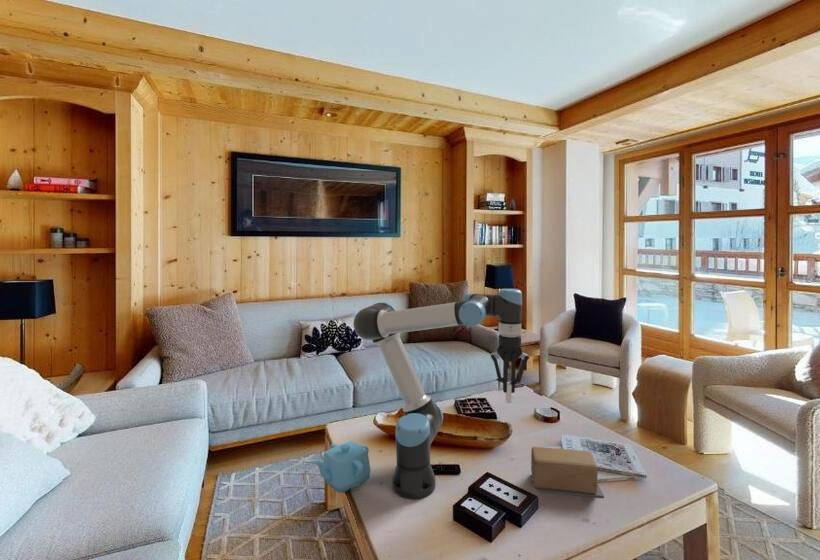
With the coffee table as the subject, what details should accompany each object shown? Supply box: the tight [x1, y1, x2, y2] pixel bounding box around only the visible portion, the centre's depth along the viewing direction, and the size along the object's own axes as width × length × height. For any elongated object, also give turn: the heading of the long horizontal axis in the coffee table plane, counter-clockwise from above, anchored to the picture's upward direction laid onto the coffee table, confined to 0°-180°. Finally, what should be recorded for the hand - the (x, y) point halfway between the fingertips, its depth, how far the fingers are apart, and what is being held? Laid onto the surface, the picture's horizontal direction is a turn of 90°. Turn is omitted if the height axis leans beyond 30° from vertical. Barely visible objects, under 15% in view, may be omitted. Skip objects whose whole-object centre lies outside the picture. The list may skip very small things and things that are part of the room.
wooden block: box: [530, 446, 599, 494], centre depth 133 cm, size 10×10×20 cm
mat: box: [538, 483, 605, 498], centre depth 135 cm, size 20×15×1 cm
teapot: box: [311, 440, 371, 494], centre depth 136 cm, size 18×16×14 cm
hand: (508, 401), depth 134 cm, fingers closed
